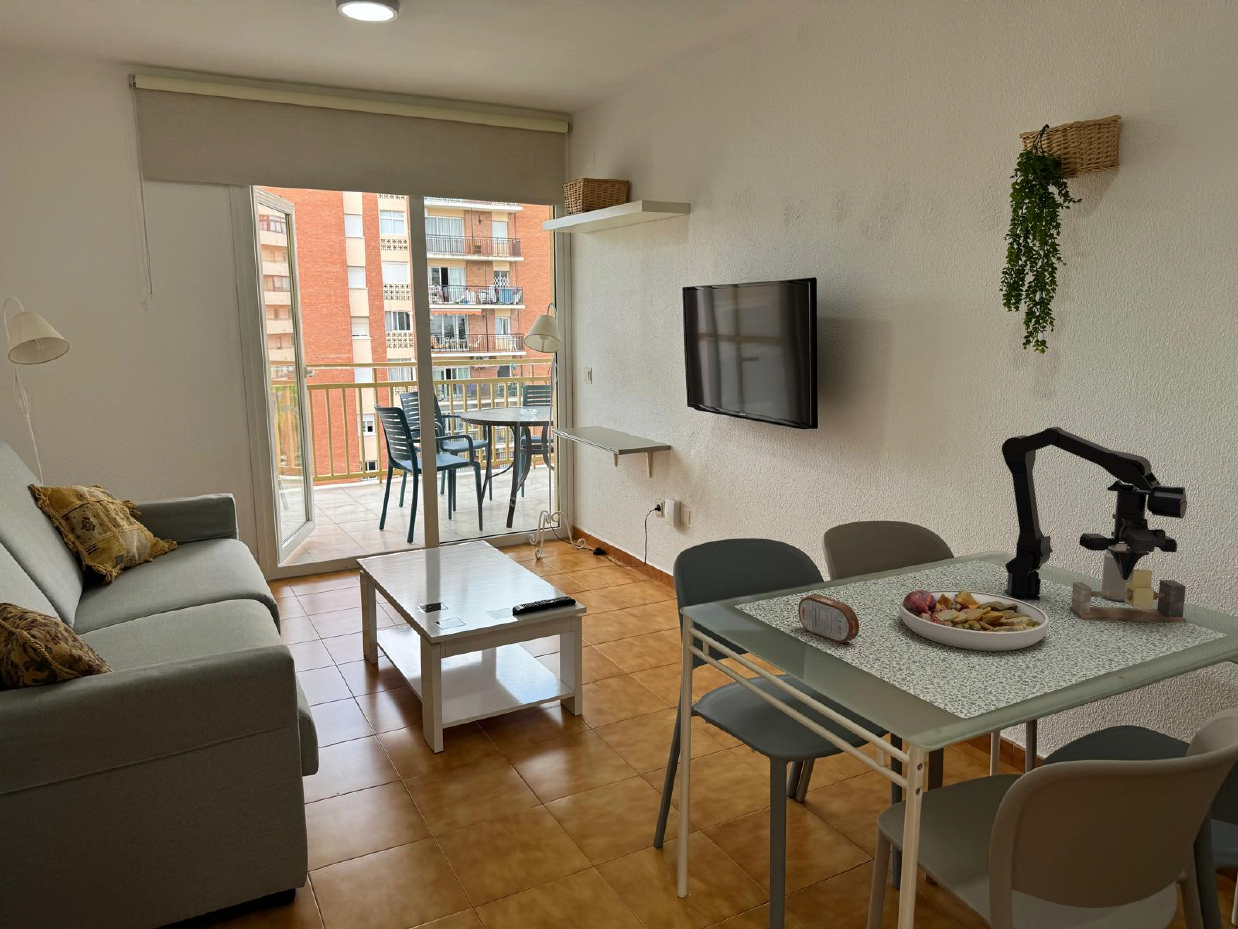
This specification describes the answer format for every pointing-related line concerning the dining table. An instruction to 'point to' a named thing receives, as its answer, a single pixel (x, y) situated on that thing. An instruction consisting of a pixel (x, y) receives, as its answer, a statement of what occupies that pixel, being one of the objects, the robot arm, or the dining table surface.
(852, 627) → the tin
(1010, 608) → the bowl
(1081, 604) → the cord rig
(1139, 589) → the marker sleeve
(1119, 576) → the beverage can
